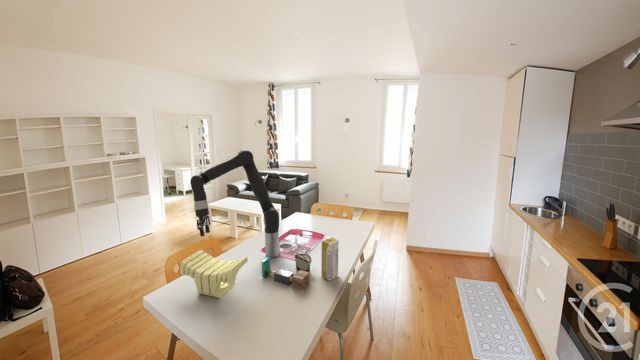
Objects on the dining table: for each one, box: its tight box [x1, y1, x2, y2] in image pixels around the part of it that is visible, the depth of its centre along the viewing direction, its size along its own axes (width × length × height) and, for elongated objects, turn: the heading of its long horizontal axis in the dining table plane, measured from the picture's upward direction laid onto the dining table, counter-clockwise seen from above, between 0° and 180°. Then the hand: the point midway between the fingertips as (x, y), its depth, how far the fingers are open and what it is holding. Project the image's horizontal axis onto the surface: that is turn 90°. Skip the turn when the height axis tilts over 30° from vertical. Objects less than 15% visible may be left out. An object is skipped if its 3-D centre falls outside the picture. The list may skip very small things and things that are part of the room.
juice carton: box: [320, 236, 339, 282], centre depth 158 cm, size 9×8×24 cm
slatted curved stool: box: [179, 249, 248, 298], centre depth 145 cm, size 30×16×18 cm, turn 73°
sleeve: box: [273, 268, 295, 286], centre depth 155 cm, size 5×10×5 cm, turn 63°
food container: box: [294, 253, 313, 273], centre depth 165 cm, size 12×6×10 cm, turn 47°
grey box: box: [261, 256, 293, 283], centre depth 156 cm, size 6×20×10 cm, turn 64°
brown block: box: [292, 270, 311, 292], centre depth 150 cm, size 8×6×7 cm
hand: (205, 234), depth 165 cm, fingers open, 8 cm apart
